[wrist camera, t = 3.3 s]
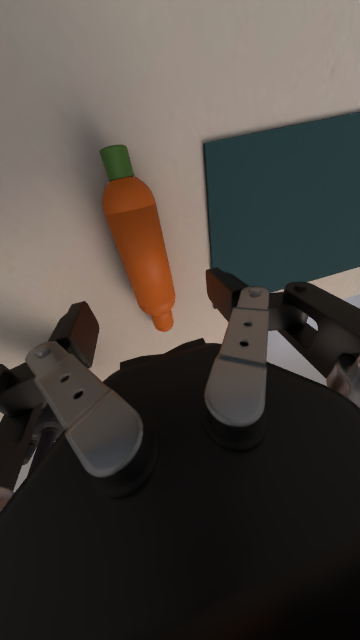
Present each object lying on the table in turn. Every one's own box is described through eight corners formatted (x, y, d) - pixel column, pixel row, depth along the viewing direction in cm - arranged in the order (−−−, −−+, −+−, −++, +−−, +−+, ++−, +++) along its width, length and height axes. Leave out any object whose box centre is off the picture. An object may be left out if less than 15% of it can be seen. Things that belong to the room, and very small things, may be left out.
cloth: (203, 143, 14) (204, 142, 14) (449, 94, 16) (454, 93, 16) (213, 307, 24) (214, 309, 24) (366, 263, 26) (369, 264, 26)
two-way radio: (78, 333, 21) (17, 514, 9) (105, 353, 24) (84, 512, 12) (42, 356, 22) (-59, 553, 10) (72, 373, 24) (22, 543, 12)
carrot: (87, 159, 13) (75, 147, 10) (140, 148, 13) (145, 134, 10) (149, 327, 23) (153, 349, 20) (178, 319, 23) (186, 338, 20)
